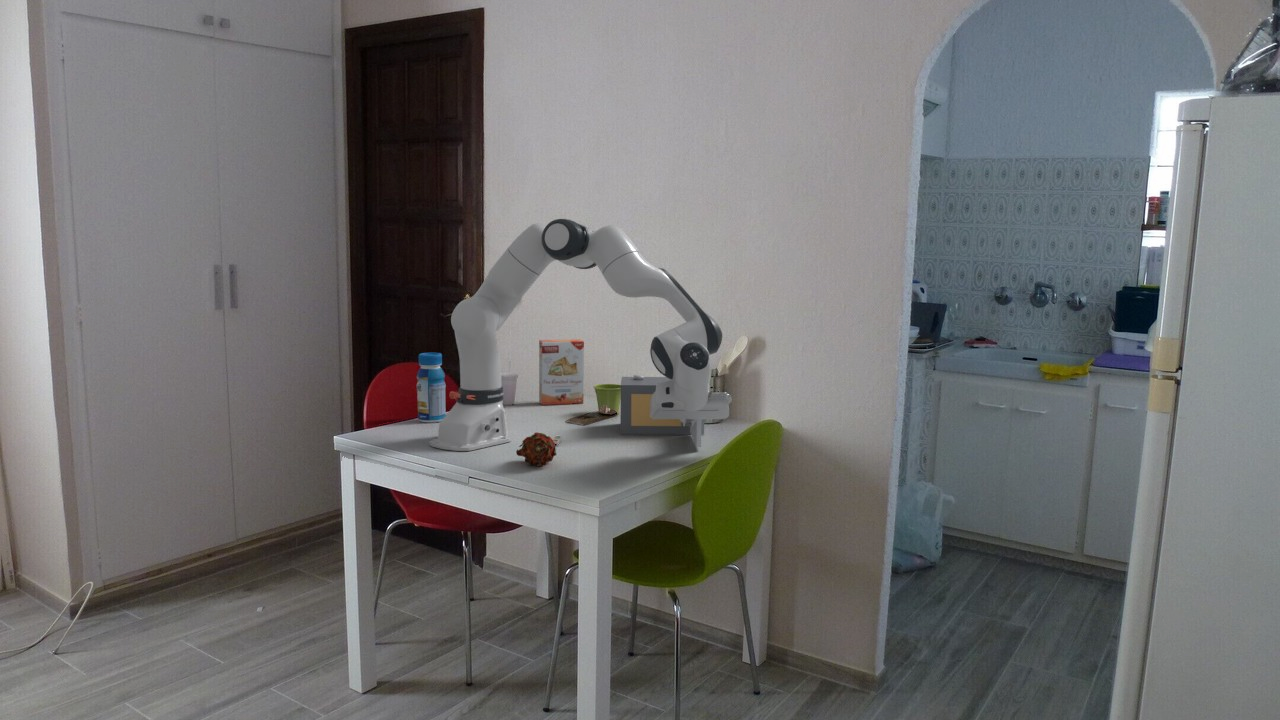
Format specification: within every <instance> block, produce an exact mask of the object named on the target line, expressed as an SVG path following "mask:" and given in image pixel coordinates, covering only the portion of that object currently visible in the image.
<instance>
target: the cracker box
mask: <svg viewBox="0 0 1280 720" xmlns="http://www.w3.org/2000/svg"><path fill="white" fill-rule="evenodd" d="M538 344H539V345H538V347H539V348H538V349H539V352H538V358H539V361H538V371H539V372H538V373H539V374H538V375H539V376H538V385H539V386H538V393H539V395H538V397H539V398H538V399H539V400H538V401H539V403H540V404H541V405H542V406H549V405H551V406H552V405H553V406H554V405H555V404H556V405H573V404H572V403H583V404H584V394H585V393H584V389H585V388H584V386H585V385H584V382H585V381H584V379H585V377H584V376H585V375H584V372H585V341H584V340H582V339H581V338H576V339H575V338H571V339H568V338H567V339H539V341H538ZM556 405H555V406H556Z"/></svg>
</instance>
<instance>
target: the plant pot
mask: <svg viewBox="0 0 1280 720" xmlns="http://www.w3.org/2000/svg"><path fill="white" fill-rule="evenodd" d="M592 387H593V389H594V392H595V395H596V401H597V402H596V403H597V409H598V412H599V411H600V409H601V407H602V406H603V404H604V403H605V404H604V405H607V407H608V408H610V409H613V410H615V411H616V412H617V414H616V415H618V414H619V412H620V407H621V384H617V383H601V384H595V385H593V386H592Z"/></svg>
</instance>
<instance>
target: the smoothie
mask: <svg viewBox="0 0 1280 720" xmlns="http://www.w3.org/2000/svg"><path fill="white" fill-rule="evenodd" d="M511 370H512V365H511V361H510V360H509V361H508V372H504V373H502V372H501V386H502V387H503V392H504V394H503V400H502V404H503V406H504V405H506V406H511V405H512V404H513V405H515V402H516V393H517V392H516V391H517V383H518V379H519V373H514V372H512V371H511ZM513 405H512V406H513Z"/></svg>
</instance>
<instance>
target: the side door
mask: <svg viewBox="0 0 1280 720" xmlns="http://www.w3.org/2000/svg"><path fill="white" fill-rule="evenodd" d="M690 432H691V435H690V436H691V437H692V439H693V442H694V445H695V448H702V436H705V419H698V421H696V422H695V423H694V424H693V426H690Z"/></svg>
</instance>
